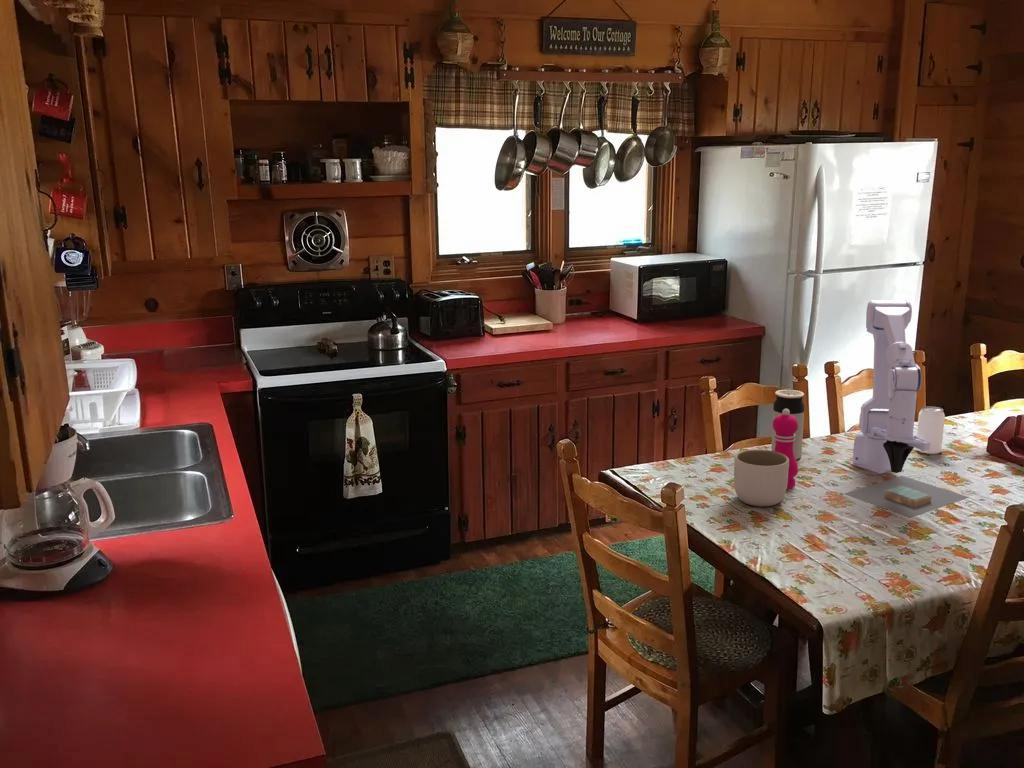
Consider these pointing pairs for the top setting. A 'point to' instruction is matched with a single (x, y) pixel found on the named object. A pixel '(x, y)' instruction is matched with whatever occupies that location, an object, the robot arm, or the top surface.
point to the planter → (760, 477)
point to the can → (931, 428)
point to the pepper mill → (786, 441)
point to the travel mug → (796, 408)
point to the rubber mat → (877, 497)
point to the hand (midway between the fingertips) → (896, 471)
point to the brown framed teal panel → (908, 496)
